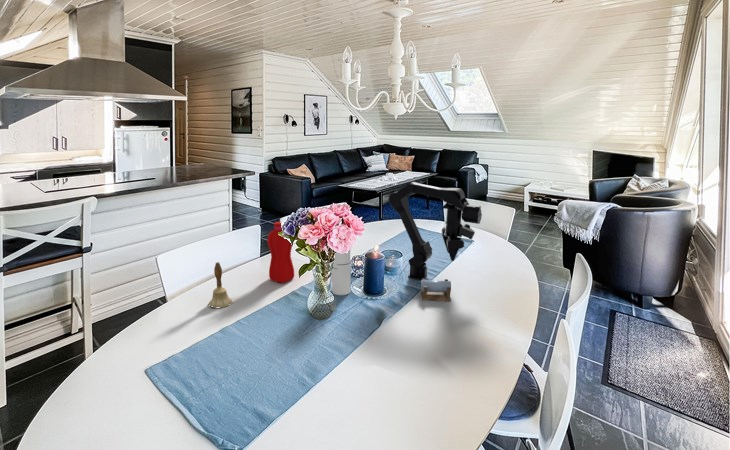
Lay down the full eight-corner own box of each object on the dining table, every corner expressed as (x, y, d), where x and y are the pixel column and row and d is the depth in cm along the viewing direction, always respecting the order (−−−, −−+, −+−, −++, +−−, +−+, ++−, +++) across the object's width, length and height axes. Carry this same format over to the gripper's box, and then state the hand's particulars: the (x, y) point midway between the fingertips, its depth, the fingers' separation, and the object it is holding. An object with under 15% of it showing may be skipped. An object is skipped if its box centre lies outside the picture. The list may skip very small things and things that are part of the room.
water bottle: (300, 276, 167) (298, 220, 160) (282, 285, 158) (279, 226, 151) (284, 271, 171) (282, 217, 164) (266, 280, 162) (262, 222, 156)
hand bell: (232, 297, 147) (229, 257, 143) (232, 307, 139) (228, 265, 135) (209, 299, 145) (205, 259, 140) (207, 310, 137) (203, 268, 133)
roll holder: (422, 300, 147) (423, 287, 145) (420, 291, 154) (421, 278, 153) (450, 301, 146) (451, 288, 145) (447, 292, 154) (448, 279, 152)
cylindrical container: (347, 296, 149) (348, 234, 142) (330, 294, 151) (329, 233, 144) (352, 288, 156) (352, 229, 149) (335, 286, 157) (334, 227, 150)
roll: (421, 293, 148) (422, 283, 147) (420, 288, 152) (421, 278, 151) (450, 294, 147) (451, 284, 146) (448, 289, 152) (449, 279, 150)
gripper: (479, 227, 145) (475, 265, 149) (469, 214, 163) (466, 249, 167) (449, 226, 145) (446, 264, 150) (442, 214, 163) (440, 248, 168)
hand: (450, 256), depth 159 cm, fingers open, 9 cm apart
